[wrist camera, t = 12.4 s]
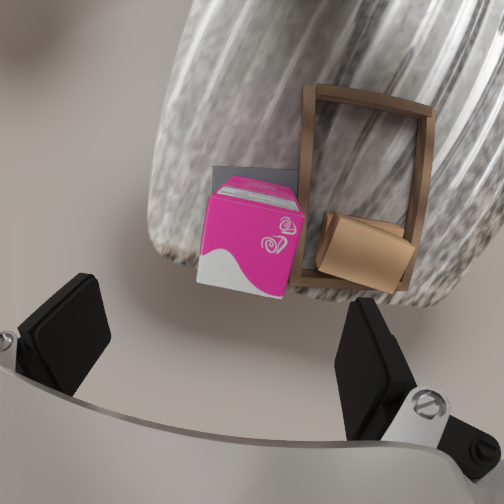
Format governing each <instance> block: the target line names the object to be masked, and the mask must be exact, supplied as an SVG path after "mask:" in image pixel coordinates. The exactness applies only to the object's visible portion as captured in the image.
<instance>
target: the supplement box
mask: <svg viewBox="0 0 504 504" xmlns="http://www.w3.org/2000/svg"><path fill="white" fill-rule="evenodd" d="M304 219H305V216H304V214H303V212H302V210H301V208H300V206H299V203H298V201H297V199H296V198H295V195H294V193H293V191H292V189H291V187H288V186H284V185H280V184H275V183H271V182H267V181H262V180H258V179H253V178H248V177H243V176H238V175H233V176H232V177H231V178H230V179H229V180H227V181H226V182H225V183H224V184H223V185H222V186H221V187H219V188H218V189H217V190H216V191H215V192H214V193H212V194H211V195H210V196H209V199H208V203H207V209H206V214H205V220H204V226H203V233H202V240H201V247H200V255H199V262H198V271H197V279H196V281H197V283H202V284H207V285H213V286H217V287H222V288H227V289H232V290H237V291H242V292H246V293H251V294H256V295H261V296H265V297H270V298H276V299H282V298H283V295H284V292H285V289H286V285H287V282H288V278H289V275H290V271H291V268H292V264H293V260H294V257H295V253H296V249H297V245H298V242H299V238H300V234H301V230H302V227H303V223H304Z"/></svg>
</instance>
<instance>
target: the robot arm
mask: <svg viewBox="0 0 504 504" xmlns="http://www.w3.org/2000/svg"><path fill="white" fill-rule="evenodd" d="M18 330H19V333H20V335H21V337H20V338H19V339H18V337H17V335H16V334H15V333H14V332H12V331H3V332H0V504H504V460H501V458H500V457H501V449H500V446H499V444H498V442H497V441H496V439H495V438H494V437H492V436H491V435H489V434H486V433H485V432H483V431H481V430H479V429H477V428H475V427H473V426H471V425H469V424H467V423H465V422H463V421H461V420H459V419H457V418H455V417H453V416H451V415H450V411H451V405H450V401H449V399H448V398H447V396H446V395H445V394H444V393H443V392H442V391H440V390H438V389H437V388H434V387H431V386H420V387H417V384H416V382H415V380H414V377H413V375H412V373H411V371H410V368H409V366H408V364H407V362H406V360H405V357H404V355H403V353H402V351H401V349H400V347H399V345H398V343H397V340H396V338H395V337H394V335H392V334H391V333H390V331H389V329H388V327H387V325H386V323H385V321H384V319H383V317H382V315H381V313H380V311H379V309H378V307H377V305H376V303H375V301H374V299H373V298H361V297H357V298H356V300H355V301H351V302H350V305H349V309H348V313H347V317H346V321H345V325H344V329H343V333H342V337H341V340H340V344H339V348H338V351H337V354H336V358H335V372H336V378H337V383H338V389H339V395H340V400H341V406H342V412H343V418H344V425H345V431H346V438H347V441H285V440H267V439H253V438H242V437H234V436H225V435H218V434H211V433H205V432H199V431H193V430H187V429H182V428H177V427H172V426H167V425H163V424H158V423H154V422H150V421H146V420H143V419H138V418H135V417H131V416H128V415H124V414H120V413H118V412H114V411H111V410H108V409H104V408H101V407H99V406H96V405H93V404H90V403H87V402H84V401H82V400H79V399H76V398H73V395H74V394H75V392H76V391H77V389H78V388H79V386H80V384H81V383H82V382H83V380H84V379H85V377H86V376H87V374H88V373H89V371H90V370H91V368H92V367H93V365H94V364H95V362H96V361H97V360H98V358H99V357H100V355H101V354H102V353H103V351H104V349H105V348H106V347H107V345H108V344H109V343H110V340H111V332H110V329H109V325H108V321H107V317H106V313H105V309H104V305H103V301H102V297H101V293H100V288H99V283H98V280H97V279H96V278H95V277H94V275H92V274H86V273H79V274H78V275H76V276H75V277H74V278H73V279H71V280H70V281H69V282H68V283H67V284H66V285H64V286H63V287H62V288H61V289H60V290H59V291H57V292H56V293H55V294H54V295H53V296H52V297H50V298H49V299H48V300H47V301H46V302H45V303H44V304H42V305H41V306H40V307H39V308H38V309H37V310H36V311H35V312H34V313H33V314H31V315H30V316H29V317H28V318H27V319H26V320H25V321H24V322H23V323H22V324H21V325H20V326H19V327H18Z"/></svg>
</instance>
